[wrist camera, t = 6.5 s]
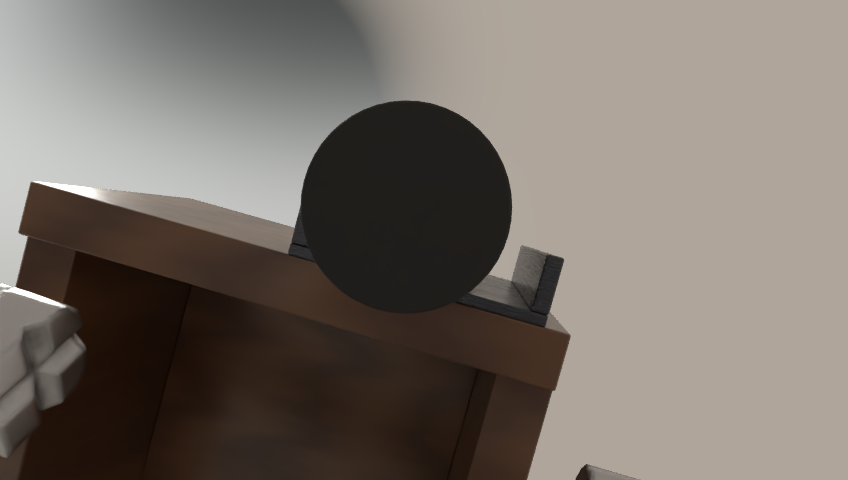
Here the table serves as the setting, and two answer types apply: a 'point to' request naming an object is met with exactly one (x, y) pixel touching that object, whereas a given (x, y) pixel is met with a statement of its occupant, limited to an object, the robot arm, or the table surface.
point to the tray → (495, 283)
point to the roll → (406, 207)
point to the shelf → (262, 358)
